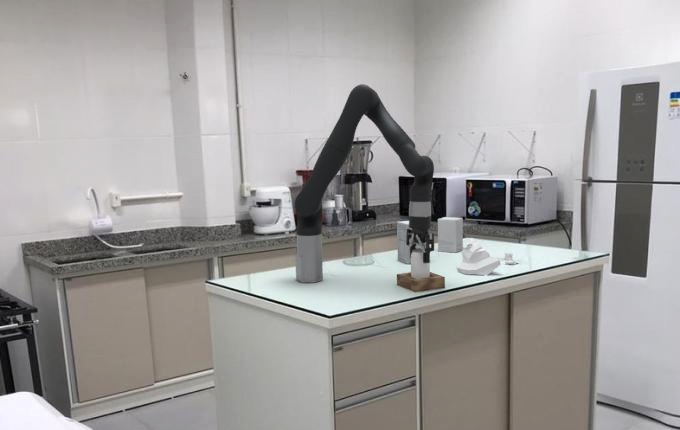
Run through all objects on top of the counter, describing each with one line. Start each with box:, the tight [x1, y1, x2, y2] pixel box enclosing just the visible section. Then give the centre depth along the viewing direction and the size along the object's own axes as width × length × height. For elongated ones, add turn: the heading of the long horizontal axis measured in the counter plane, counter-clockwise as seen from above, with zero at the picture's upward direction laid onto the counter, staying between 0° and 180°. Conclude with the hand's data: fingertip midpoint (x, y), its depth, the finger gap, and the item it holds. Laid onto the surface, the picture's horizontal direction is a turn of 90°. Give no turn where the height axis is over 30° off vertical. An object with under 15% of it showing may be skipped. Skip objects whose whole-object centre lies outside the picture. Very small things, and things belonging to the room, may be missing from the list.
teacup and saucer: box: [500, 252, 515, 265], centre depth 242 cm, size 9×8×4 cm
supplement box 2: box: [437, 216, 464, 254], centre depth 270 cm, size 9×9×15 cm
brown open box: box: [396, 271, 446, 293], centre depth 206 cm, size 12×12×4 cm
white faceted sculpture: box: [456, 237, 502, 276], centre depth 225 cm, size 12×15×14 cm
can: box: [410, 249, 431, 279], centre depth 205 cm, size 6×6×12 cm
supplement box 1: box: [396, 220, 426, 265], centre depth 248 cm, size 10×9×17 cm
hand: (419, 260), depth 205 cm, fingers open, 8 cm apart
